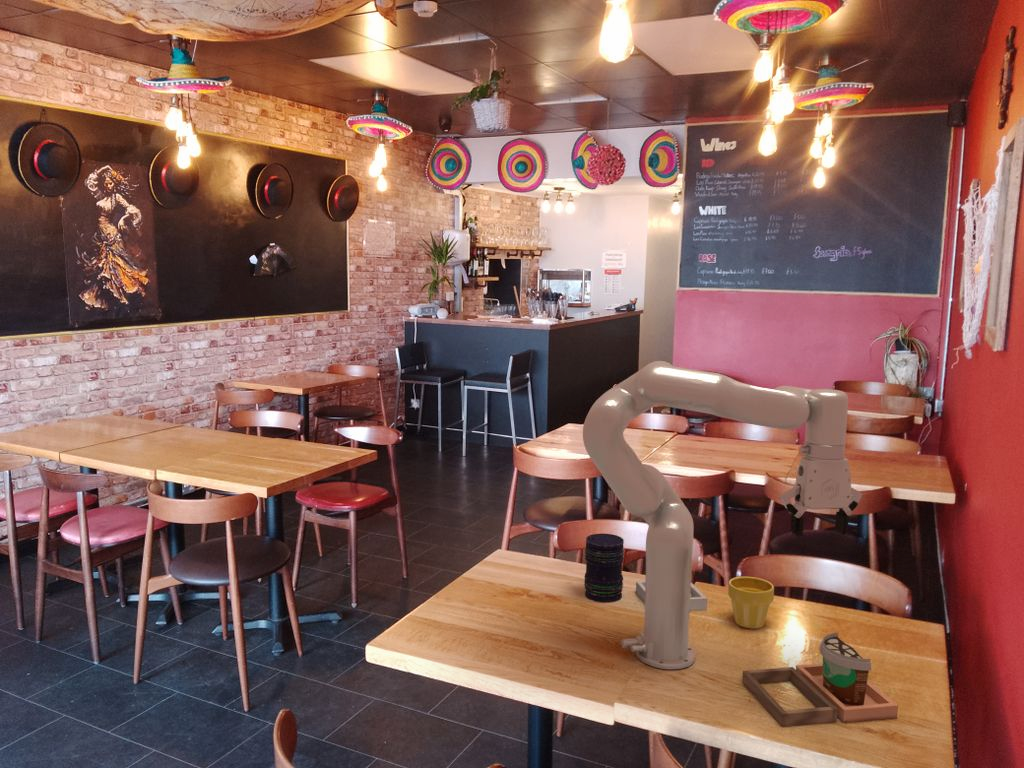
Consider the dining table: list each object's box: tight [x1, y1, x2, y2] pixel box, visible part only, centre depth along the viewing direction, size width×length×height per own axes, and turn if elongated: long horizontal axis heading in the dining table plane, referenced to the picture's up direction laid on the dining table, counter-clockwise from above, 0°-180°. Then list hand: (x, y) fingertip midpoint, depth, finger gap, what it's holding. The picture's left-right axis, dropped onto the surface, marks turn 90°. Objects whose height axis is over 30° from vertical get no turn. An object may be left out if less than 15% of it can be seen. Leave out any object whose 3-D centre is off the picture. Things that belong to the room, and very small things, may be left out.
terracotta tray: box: [795, 662, 899, 724], centre depth 153 cm, size 11×17×2 cm, turn 10°
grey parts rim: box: [635, 580, 708, 612], centre depth 198 cm, size 14×13×3 cm
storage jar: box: [583, 533, 625, 604], centre depth 200 cm, size 10×10×15 cm
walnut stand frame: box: [741, 666, 838, 728], centre depth 151 cm, size 11×16×2 cm
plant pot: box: [727, 576, 775, 630], centre depth 185 cm, size 10×10×10 cm
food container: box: [818, 631, 872, 706], centre depth 152 cm, size 12×6×10 cm, turn 7°
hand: (818, 533), depth 158 cm, fingers open, 9 cm apart
